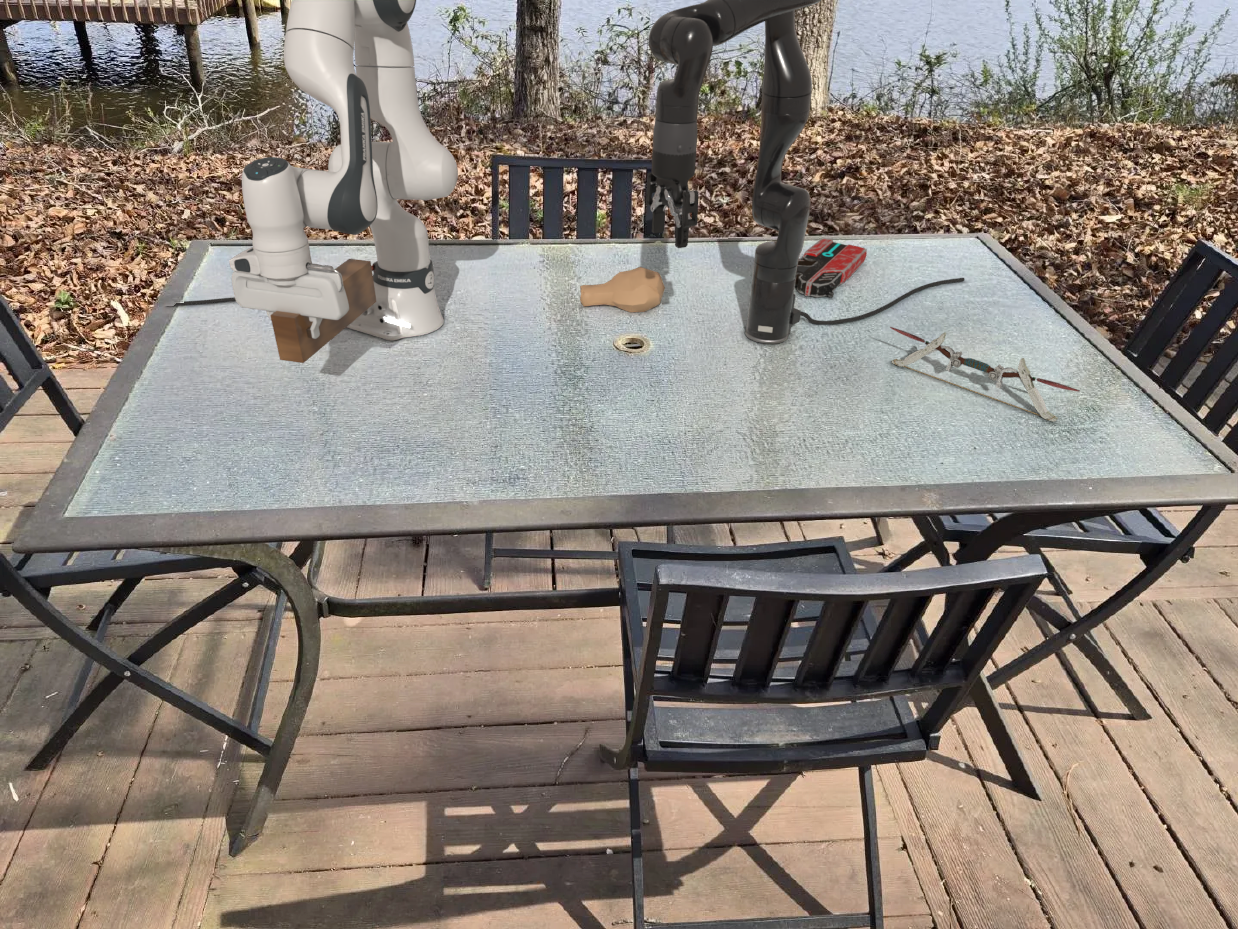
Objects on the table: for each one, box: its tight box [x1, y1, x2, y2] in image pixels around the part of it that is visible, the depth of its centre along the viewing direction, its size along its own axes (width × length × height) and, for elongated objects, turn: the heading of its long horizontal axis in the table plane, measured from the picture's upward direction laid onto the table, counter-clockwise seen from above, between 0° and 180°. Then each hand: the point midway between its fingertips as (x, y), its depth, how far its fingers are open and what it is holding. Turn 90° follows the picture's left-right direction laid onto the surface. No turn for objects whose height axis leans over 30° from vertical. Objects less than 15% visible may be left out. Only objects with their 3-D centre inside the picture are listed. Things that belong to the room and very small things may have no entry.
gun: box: [795, 237, 868, 299], centre depth 225 cm, size 4×31×19 cm
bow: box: [889, 326, 1081, 422], centre depth 173 cm, size 39×2×10 cm, turn 47°
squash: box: [579, 266, 666, 313], centre depth 204 cm, size 11×20×9 cm, turn 90°
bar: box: [270, 258, 377, 364], centre depth 164 cm, size 28×5×9 cm, turn 166°
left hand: (298, 334), depth 156 cm, fingers closed on bar, 4 cm apart
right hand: (669, 239), depth 158 cm, fingers open, 8 cm apart
